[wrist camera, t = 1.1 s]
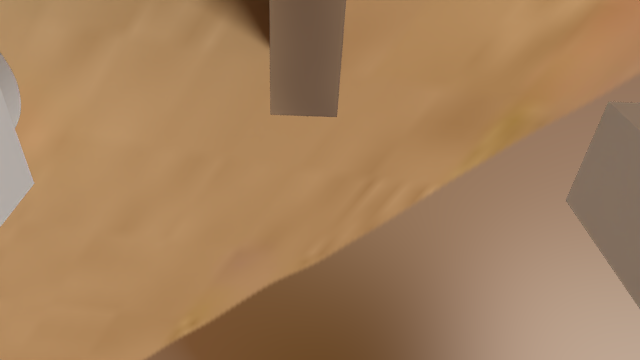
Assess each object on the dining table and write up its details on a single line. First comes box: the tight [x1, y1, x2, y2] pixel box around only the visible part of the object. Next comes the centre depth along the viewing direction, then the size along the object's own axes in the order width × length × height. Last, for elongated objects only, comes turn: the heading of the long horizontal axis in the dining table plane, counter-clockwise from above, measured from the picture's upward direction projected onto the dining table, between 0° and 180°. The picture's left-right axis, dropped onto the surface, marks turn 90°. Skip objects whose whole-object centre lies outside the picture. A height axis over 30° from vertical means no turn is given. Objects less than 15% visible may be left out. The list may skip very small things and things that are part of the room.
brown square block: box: [269, 0, 346, 117], centre depth 19 cm, size 2×6×6 cm, turn 177°
